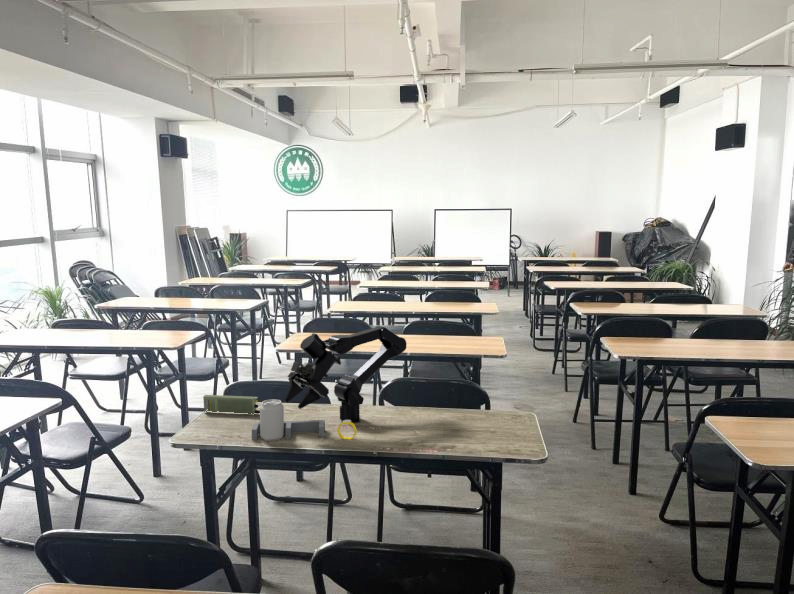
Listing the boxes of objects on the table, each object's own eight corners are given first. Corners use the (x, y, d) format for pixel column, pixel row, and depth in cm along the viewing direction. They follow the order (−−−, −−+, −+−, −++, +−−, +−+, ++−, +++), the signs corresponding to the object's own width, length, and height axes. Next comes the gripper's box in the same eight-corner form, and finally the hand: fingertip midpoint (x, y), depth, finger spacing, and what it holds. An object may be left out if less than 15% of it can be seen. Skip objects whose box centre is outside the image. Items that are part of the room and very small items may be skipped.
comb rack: (324, 429, 193) (324, 418, 193) (325, 437, 186) (324, 424, 186) (254, 432, 190) (254, 420, 190) (251, 440, 183) (251, 427, 183)
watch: (337, 440, 184) (335, 422, 184) (340, 437, 187) (338, 419, 187) (355, 440, 183) (353, 422, 183) (357, 437, 186) (356, 419, 185)
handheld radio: (207, 411, 214) (271, 414, 211) (203, 414, 211) (268, 417, 208) (206, 393, 213) (271, 396, 210) (202, 396, 210) (267, 399, 207)
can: (255, 439, 184) (254, 402, 183) (271, 432, 191) (271, 396, 190) (272, 443, 181) (271, 406, 179) (289, 436, 187) (288, 400, 186)
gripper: (292, 348, 198) (263, 384, 192) (320, 357, 183) (289, 397, 178) (312, 367, 204) (285, 403, 198) (341, 377, 189) (312, 417, 183)
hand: (292, 404), depth 189 cm, fingers open, 9 cm apart
